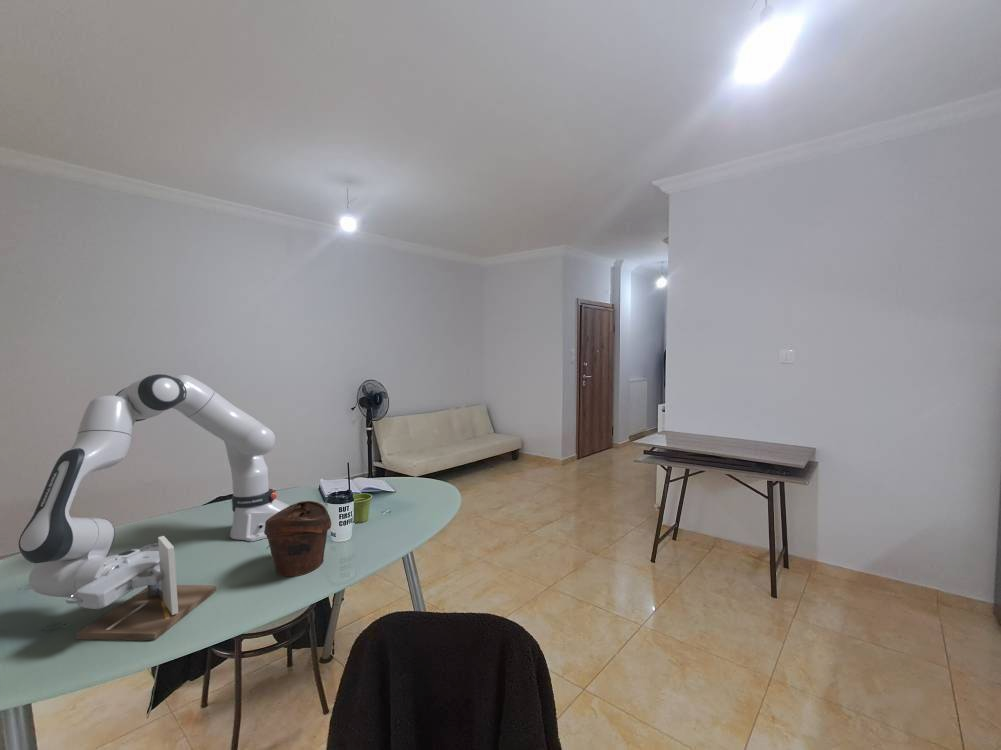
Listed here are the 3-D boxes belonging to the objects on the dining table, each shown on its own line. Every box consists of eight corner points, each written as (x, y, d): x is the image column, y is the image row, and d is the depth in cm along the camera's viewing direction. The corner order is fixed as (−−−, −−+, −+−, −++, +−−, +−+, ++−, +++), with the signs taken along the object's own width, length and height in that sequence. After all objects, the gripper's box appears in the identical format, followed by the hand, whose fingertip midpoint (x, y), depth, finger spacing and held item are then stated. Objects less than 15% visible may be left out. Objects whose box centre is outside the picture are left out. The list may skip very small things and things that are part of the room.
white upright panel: (146, 592, 115) (142, 531, 114) (169, 584, 119) (165, 525, 118) (162, 618, 104) (157, 551, 103) (187, 609, 107) (183, 544, 106)
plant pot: (358, 527, 160) (357, 503, 160) (341, 522, 165) (340, 499, 165) (378, 518, 168) (377, 495, 167) (361, 513, 173) (360, 491, 172)
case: (316, 544, 146) (313, 491, 145) (344, 565, 132) (341, 506, 130) (257, 564, 134) (252, 506, 132) (280, 590, 119) (276, 525, 118)
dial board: (151, 590, 120) (151, 584, 120) (216, 590, 119) (216, 585, 119) (77, 638, 100) (77, 632, 100) (155, 640, 99) (154, 633, 99)
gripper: (58, 588, 97) (119, 589, 96) (139, 545, 117) (190, 546, 116) (60, 616, 97) (121, 617, 96) (141, 569, 118) (191, 570, 117)
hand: (159, 578), depth 107 cm, fingers closed
